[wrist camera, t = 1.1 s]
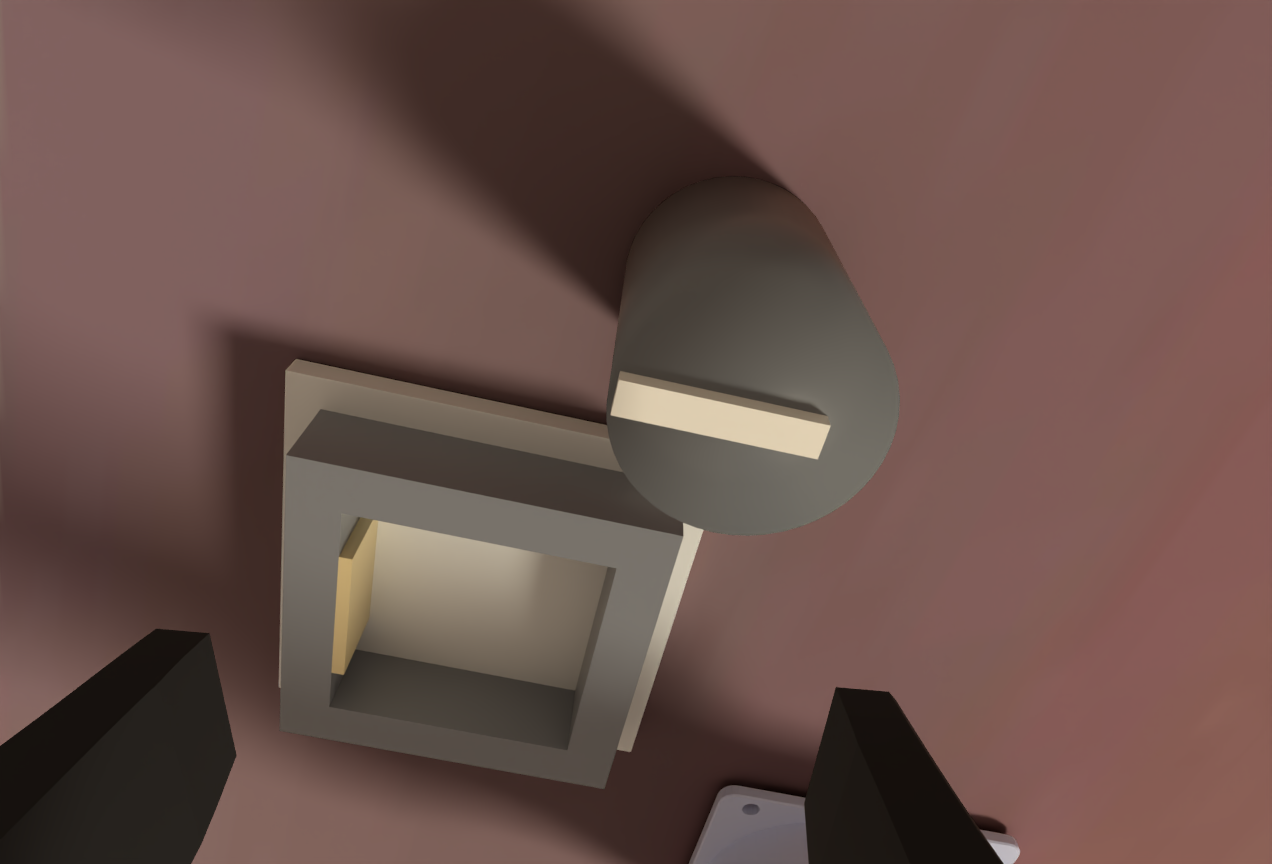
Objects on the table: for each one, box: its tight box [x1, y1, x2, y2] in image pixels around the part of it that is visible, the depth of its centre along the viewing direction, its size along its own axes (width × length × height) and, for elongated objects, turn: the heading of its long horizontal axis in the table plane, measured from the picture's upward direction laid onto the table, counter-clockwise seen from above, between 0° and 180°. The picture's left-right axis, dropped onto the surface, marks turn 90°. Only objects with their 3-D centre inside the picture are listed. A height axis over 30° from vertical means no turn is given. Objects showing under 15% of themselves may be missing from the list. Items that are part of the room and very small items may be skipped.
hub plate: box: [279, 359, 703, 789], centre depth 21 cm, size 10×10×3 cm
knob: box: [606, 176, 900, 536], centre depth 15 cm, size 4×4×6 cm
